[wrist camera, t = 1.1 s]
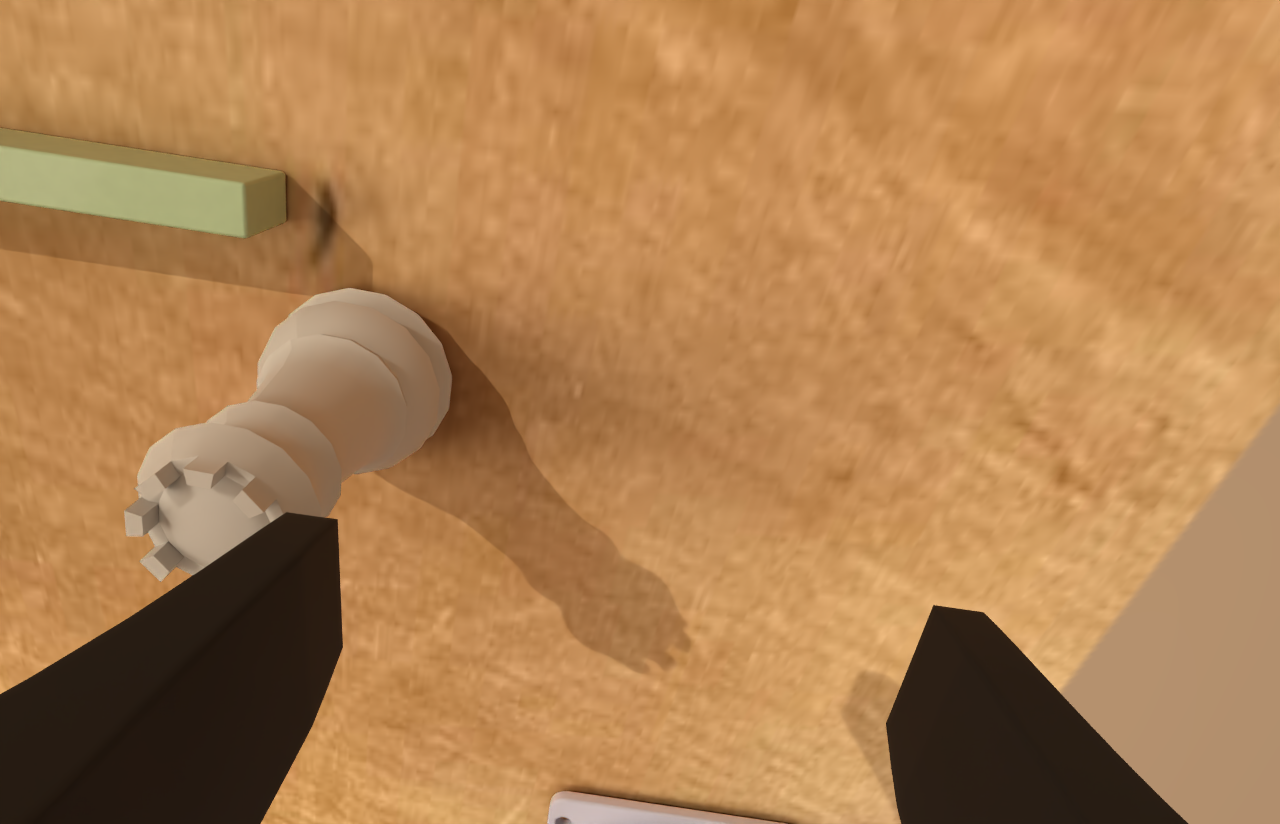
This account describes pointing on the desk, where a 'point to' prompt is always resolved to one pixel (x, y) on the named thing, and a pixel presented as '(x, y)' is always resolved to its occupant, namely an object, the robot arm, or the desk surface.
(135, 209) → the corner guide
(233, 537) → the rook chess piece
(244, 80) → the desk surface
